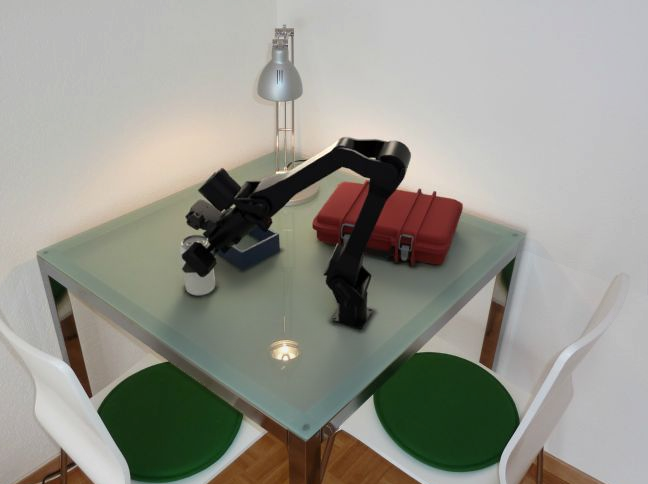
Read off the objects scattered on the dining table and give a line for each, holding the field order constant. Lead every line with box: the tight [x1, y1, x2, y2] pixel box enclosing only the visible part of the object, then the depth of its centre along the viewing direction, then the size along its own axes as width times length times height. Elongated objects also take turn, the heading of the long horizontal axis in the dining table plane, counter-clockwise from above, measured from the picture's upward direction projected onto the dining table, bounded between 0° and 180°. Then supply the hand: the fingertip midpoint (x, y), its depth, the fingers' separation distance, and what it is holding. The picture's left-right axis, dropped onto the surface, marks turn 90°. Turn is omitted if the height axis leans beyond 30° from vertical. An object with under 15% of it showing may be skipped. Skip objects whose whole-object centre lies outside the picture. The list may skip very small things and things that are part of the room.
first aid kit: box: [312, 179, 464, 267], centre depth 152 cm, size 32×23×9 cm
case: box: [207, 226, 281, 271], centre depth 149 cm, size 13×11×5 cm
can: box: [179, 234, 216, 297], centre depth 135 cm, size 6×6×12 cm
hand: (194, 258), depth 134 cm, fingers open, 9 cm apart
